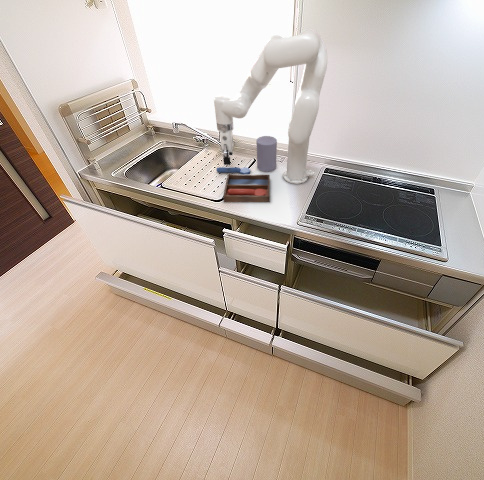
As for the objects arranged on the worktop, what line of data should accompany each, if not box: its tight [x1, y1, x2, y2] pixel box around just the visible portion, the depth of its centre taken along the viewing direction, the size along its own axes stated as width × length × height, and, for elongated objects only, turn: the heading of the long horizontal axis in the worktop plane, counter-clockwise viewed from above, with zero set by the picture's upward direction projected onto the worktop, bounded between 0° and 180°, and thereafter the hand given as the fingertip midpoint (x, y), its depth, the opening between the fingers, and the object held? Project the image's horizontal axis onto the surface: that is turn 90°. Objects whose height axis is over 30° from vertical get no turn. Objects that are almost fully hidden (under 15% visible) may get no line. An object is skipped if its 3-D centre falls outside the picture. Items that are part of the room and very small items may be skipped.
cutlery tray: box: [222, 173, 271, 203], centre depth 125 cm, size 21×18×3 cm
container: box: [255, 135, 278, 173], centre depth 136 cm, size 10×10×15 cm
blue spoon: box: [216, 166, 251, 175], centre depth 136 cm, size 18×6×3 cm, turn 90°
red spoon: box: [227, 189, 265, 196], centre depth 121 cm, size 18×6×3 cm, turn 91°
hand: (228, 159), depth 132 cm, fingers open, 9 cm apart
